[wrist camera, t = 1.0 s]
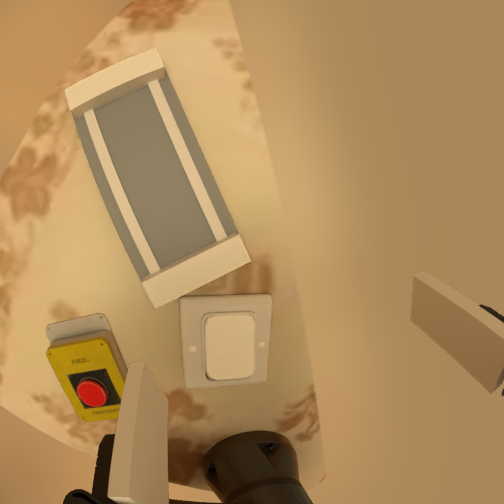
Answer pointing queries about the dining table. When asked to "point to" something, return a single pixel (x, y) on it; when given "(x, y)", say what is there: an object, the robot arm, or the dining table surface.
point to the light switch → (225, 339)
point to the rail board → (154, 178)
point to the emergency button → (88, 365)
